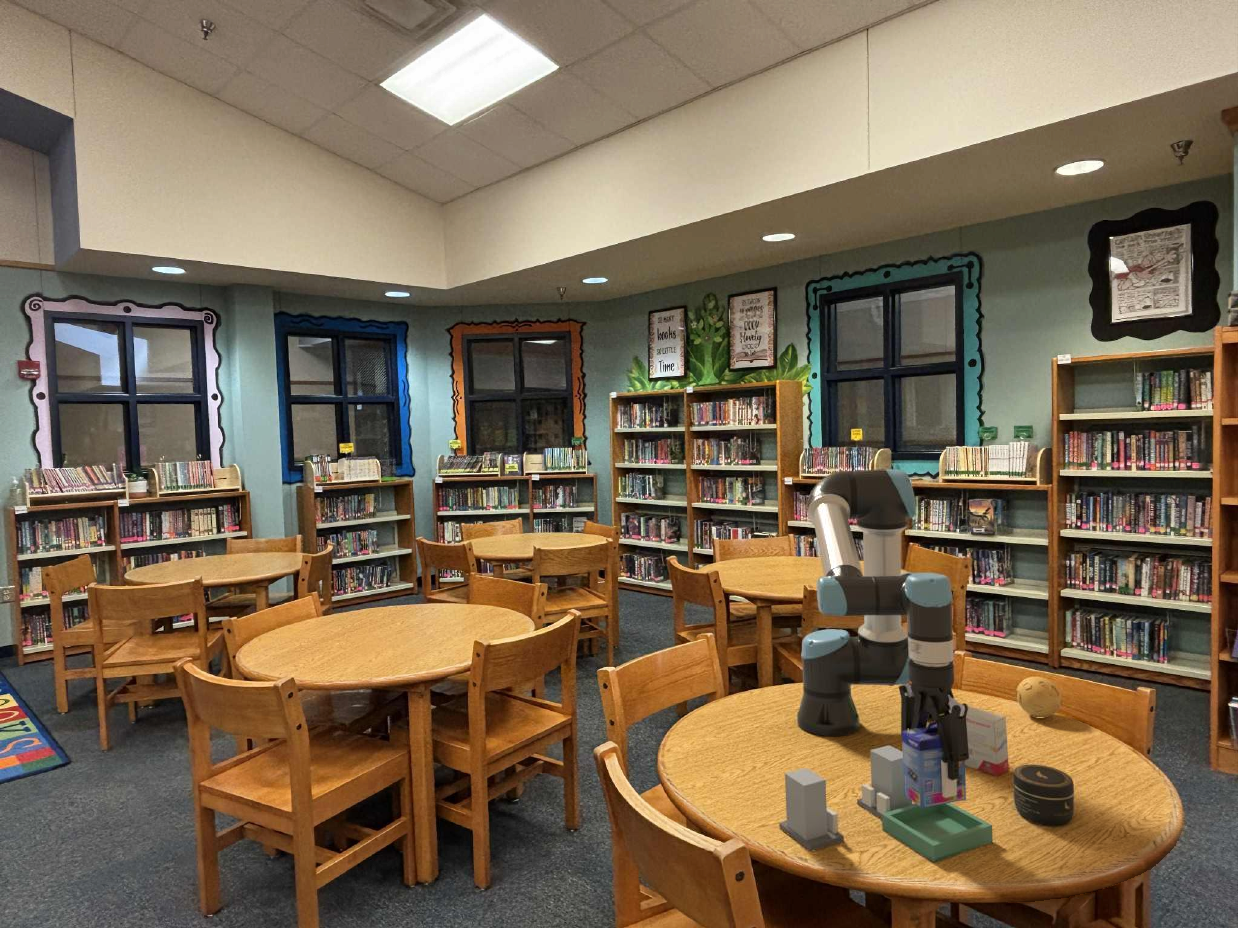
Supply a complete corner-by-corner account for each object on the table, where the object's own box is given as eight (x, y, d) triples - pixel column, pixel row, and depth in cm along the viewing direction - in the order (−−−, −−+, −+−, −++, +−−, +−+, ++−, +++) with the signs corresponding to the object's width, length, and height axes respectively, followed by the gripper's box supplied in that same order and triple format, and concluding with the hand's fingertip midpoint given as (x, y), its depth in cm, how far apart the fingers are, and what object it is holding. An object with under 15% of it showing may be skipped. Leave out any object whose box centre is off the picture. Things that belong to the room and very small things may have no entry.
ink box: (1010, 770, 156) (1008, 716, 156) (997, 777, 153) (995, 722, 153) (971, 757, 163) (969, 704, 163) (958, 763, 160) (956, 710, 160)
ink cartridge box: (922, 810, 128) (918, 727, 128) (902, 796, 133) (898, 717, 133) (969, 800, 131) (965, 718, 131) (947, 787, 136) (943, 709, 136)
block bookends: (779, 827, 137) (777, 770, 137) (886, 795, 148) (884, 741, 147) (810, 851, 129) (807, 790, 129) (921, 815, 140) (919, 758, 139)
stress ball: (1026, 711, 190) (1000, 690, 188) (1052, 683, 189) (1026, 661, 187) (1051, 732, 180) (1023, 710, 179) (1078, 703, 179) (1050, 680, 178)
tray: (882, 829, 135) (881, 813, 135) (938, 811, 141) (937, 796, 141) (934, 862, 124) (933, 845, 124) (992, 841, 130) (992, 824, 130)
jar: (1050, 834, 131) (1049, 792, 131) (1001, 809, 140) (1000, 770, 140) (1087, 820, 135) (1086, 779, 135) (1037, 797, 144) (1036, 759, 144)
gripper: (876, 651, 138) (881, 771, 139) (958, 678, 121) (963, 815, 122) (906, 645, 141) (910, 763, 142) (990, 670, 124) (995, 805, 125)
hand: (935, 787), depth 132 cm, fingers closed on ink cartridge box, 6 cm apart
